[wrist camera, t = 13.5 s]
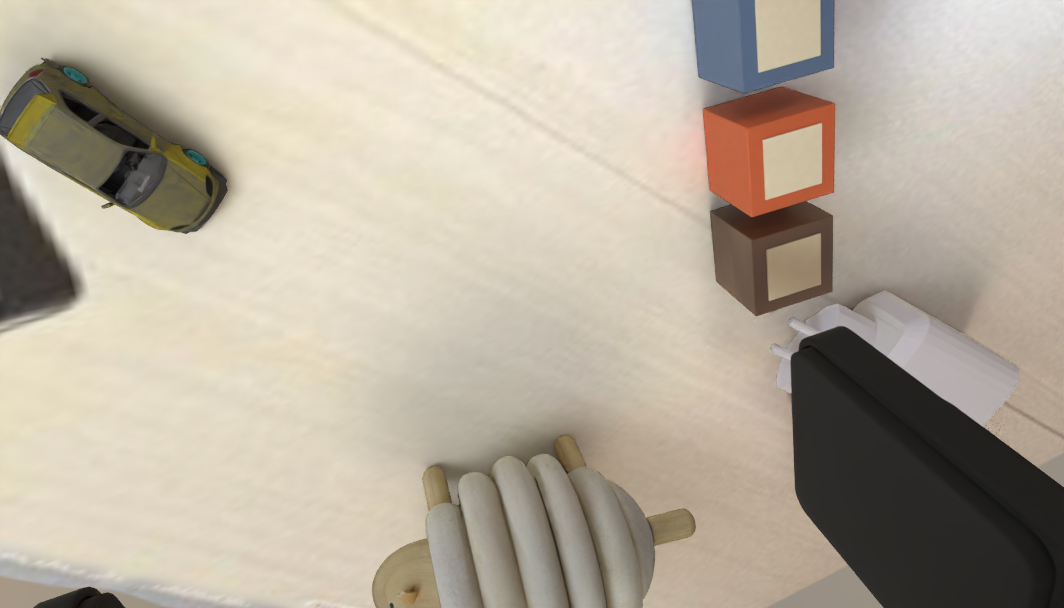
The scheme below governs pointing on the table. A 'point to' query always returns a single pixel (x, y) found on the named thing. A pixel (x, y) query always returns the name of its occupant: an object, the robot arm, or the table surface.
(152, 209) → the race car
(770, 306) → the walnut block
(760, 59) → the slate block
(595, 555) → the toy sheep
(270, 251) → the table surface
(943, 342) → the charger
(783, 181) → the terracotta block
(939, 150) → the table surface
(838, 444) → the robot arm
